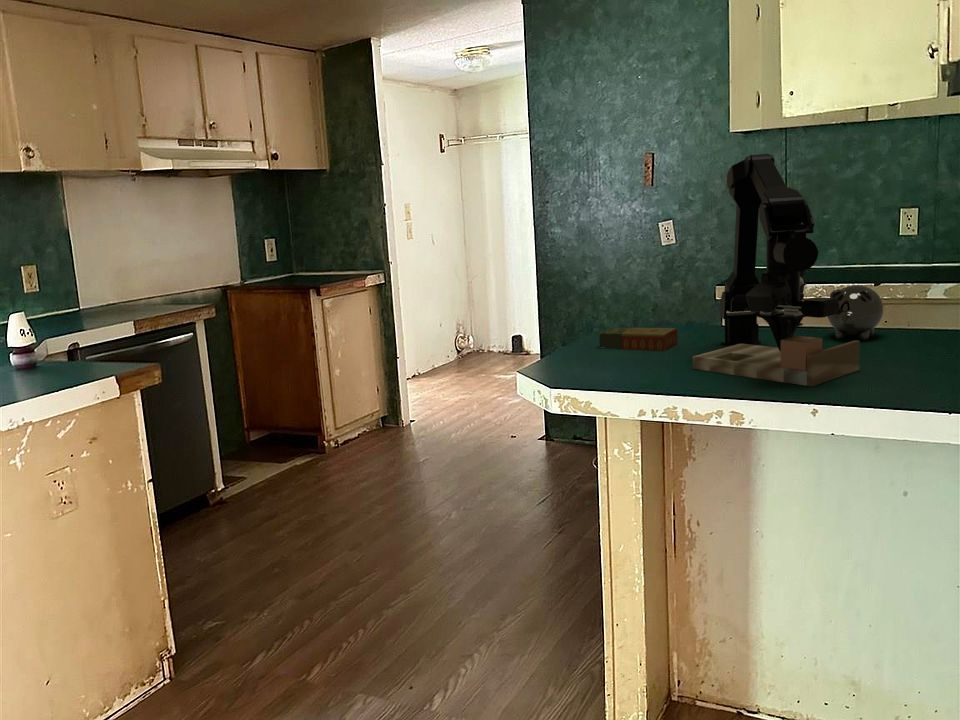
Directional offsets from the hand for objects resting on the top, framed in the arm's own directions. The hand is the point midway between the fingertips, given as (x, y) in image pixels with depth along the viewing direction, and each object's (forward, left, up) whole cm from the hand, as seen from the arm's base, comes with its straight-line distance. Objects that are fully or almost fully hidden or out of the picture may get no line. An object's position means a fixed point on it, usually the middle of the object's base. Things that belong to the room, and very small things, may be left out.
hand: (782, 351), depth 151 cm
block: (+4, -1, -2) cm, 5 cm away
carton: (-42, +9, -5) cm, 44 cm away
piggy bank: (-8, +41, -5) cm, 42 cm away
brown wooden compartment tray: (-5, +4, -5) cm, 8 cm away
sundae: (-28, +49, -5) cm, 57 cm away
